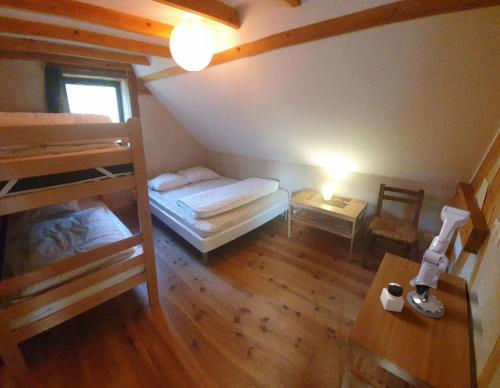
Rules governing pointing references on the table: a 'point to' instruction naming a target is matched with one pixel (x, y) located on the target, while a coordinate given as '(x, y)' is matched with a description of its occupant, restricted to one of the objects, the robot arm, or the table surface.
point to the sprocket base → (423, 311)
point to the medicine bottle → (392, 297)
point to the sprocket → (426, 302)
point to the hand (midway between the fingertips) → (419, 293)
